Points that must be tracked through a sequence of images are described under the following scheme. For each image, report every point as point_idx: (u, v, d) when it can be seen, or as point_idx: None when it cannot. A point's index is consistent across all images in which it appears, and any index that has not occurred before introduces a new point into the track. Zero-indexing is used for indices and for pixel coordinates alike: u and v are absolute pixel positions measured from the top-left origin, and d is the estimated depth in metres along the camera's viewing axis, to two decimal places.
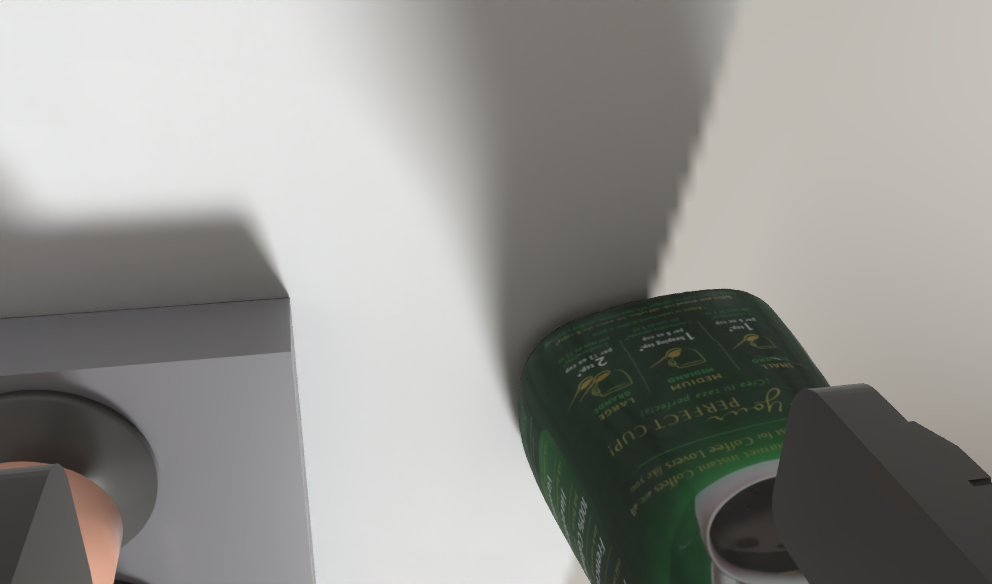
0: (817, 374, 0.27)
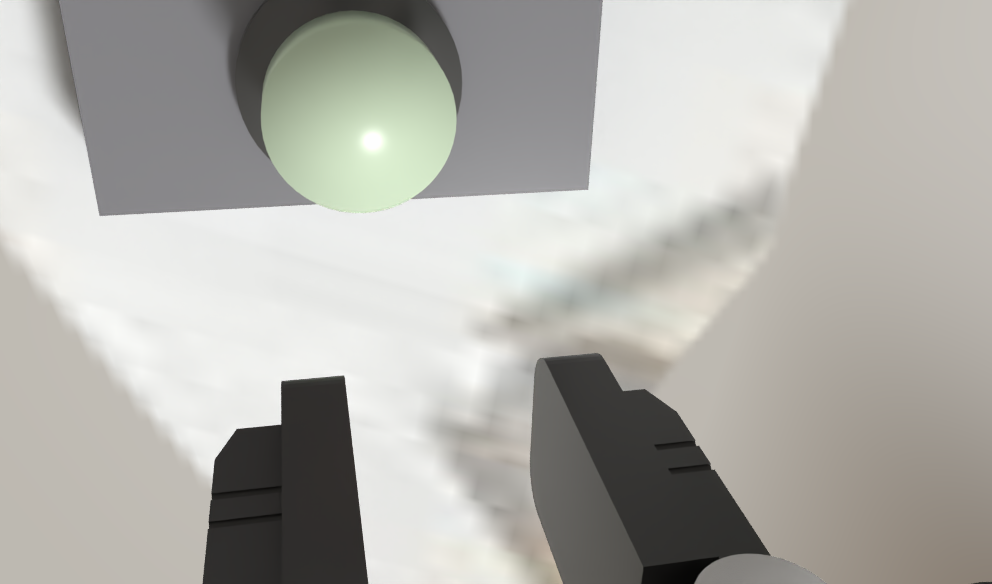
0: None
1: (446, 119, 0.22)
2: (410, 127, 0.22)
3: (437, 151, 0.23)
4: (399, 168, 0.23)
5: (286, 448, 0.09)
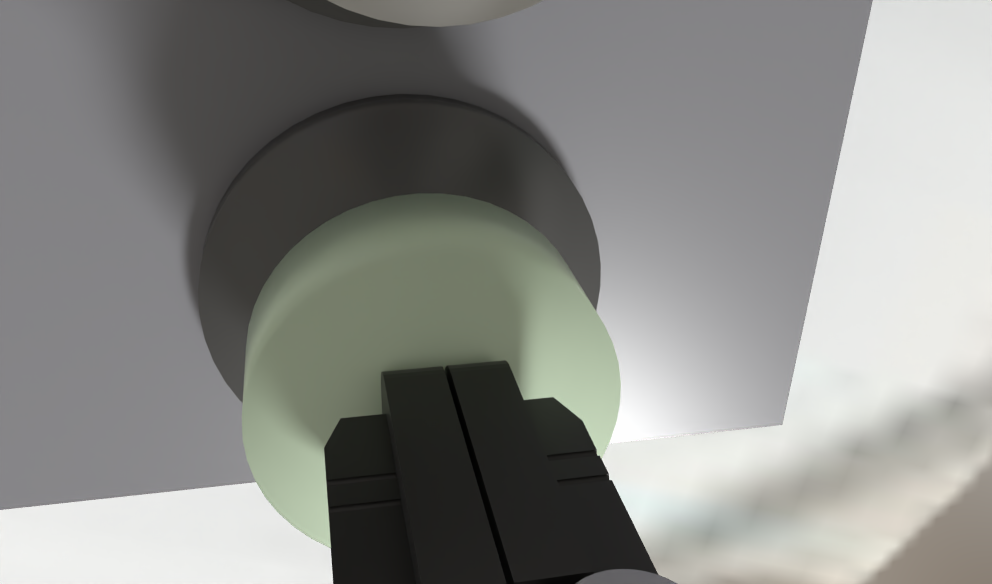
0: None
1: (601, 402, 0.12)
2: None
3: None
4: None
5: (398, 435, 0.09)
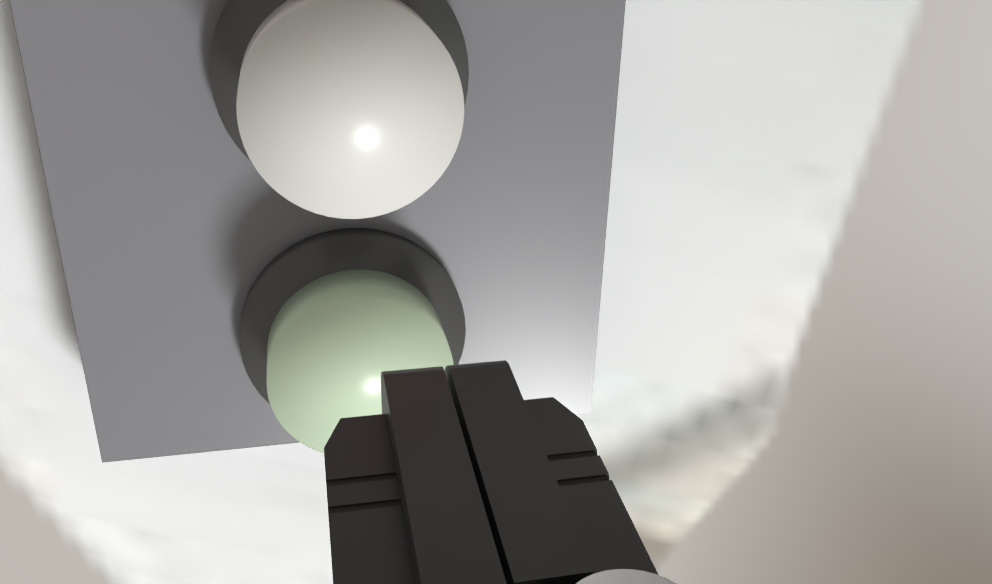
0: None
1: None
2: None
3: None
4: None
5: (398, 436, 0.09)
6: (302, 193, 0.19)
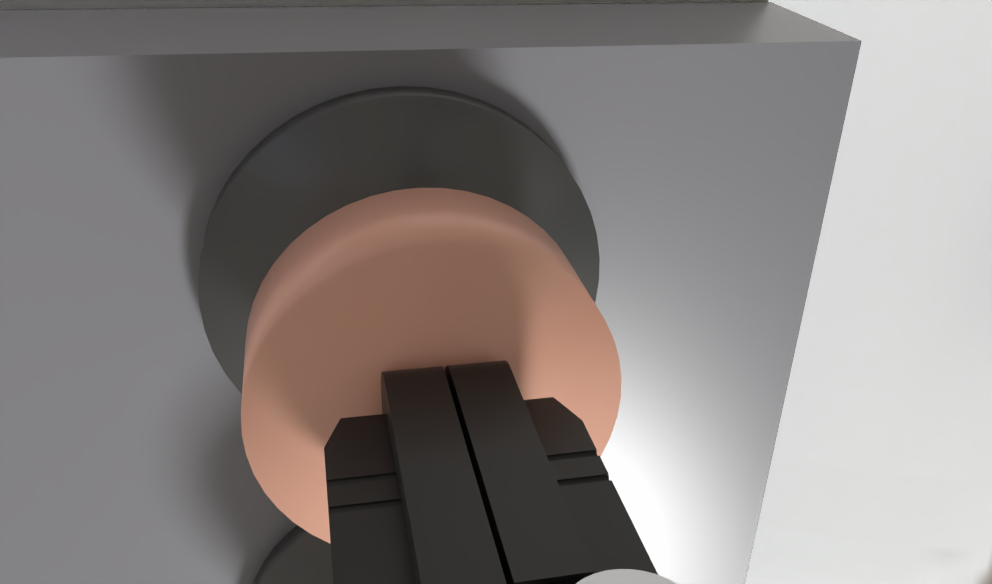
0: None
1: None
2: None
3: None
4: None
5: (399, 436, 0.09)
6: None
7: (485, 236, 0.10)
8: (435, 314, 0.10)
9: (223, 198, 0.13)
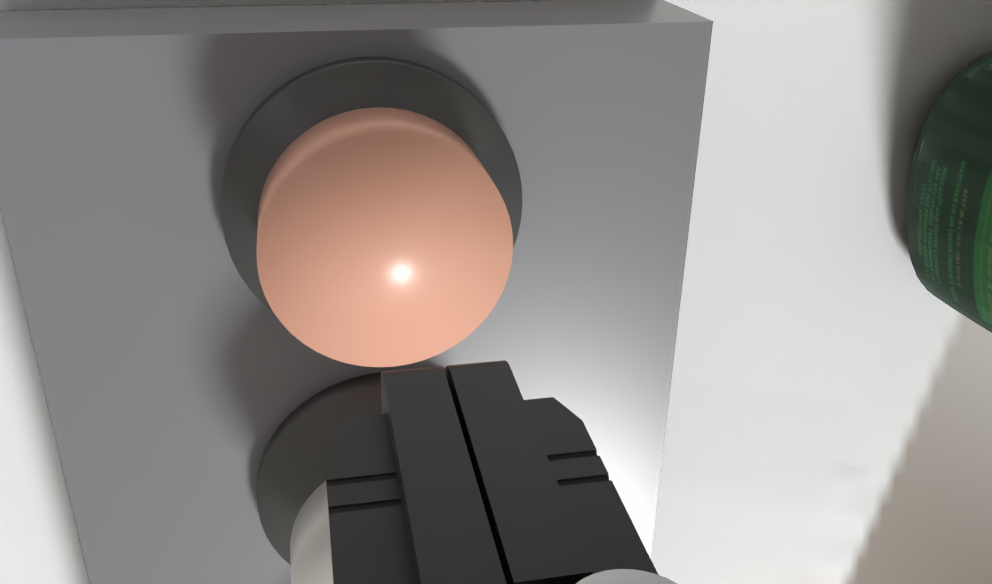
0: None
1: None
2: None
3: None
4: None
5: (399, 436, 0.09)
6: None
7: (415, 130, 0.16)
8: (383, 183, 0.16)
9: (239, 139, 0.17)
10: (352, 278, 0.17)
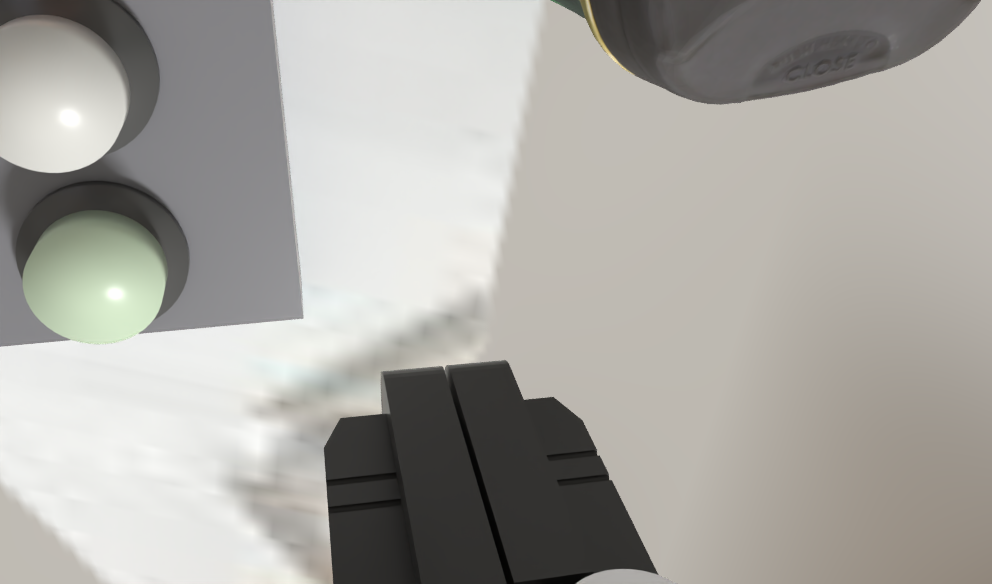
0: None
1: (155, 282, 0.33)
2: (130, 288, 0.33)
3: (152, 302, 0.33)
4: (126, 314, 0.33)
5: (398, 436, 0.09)
6: (16, 155, 0.29)
7: None
8: None
9: None
10: None
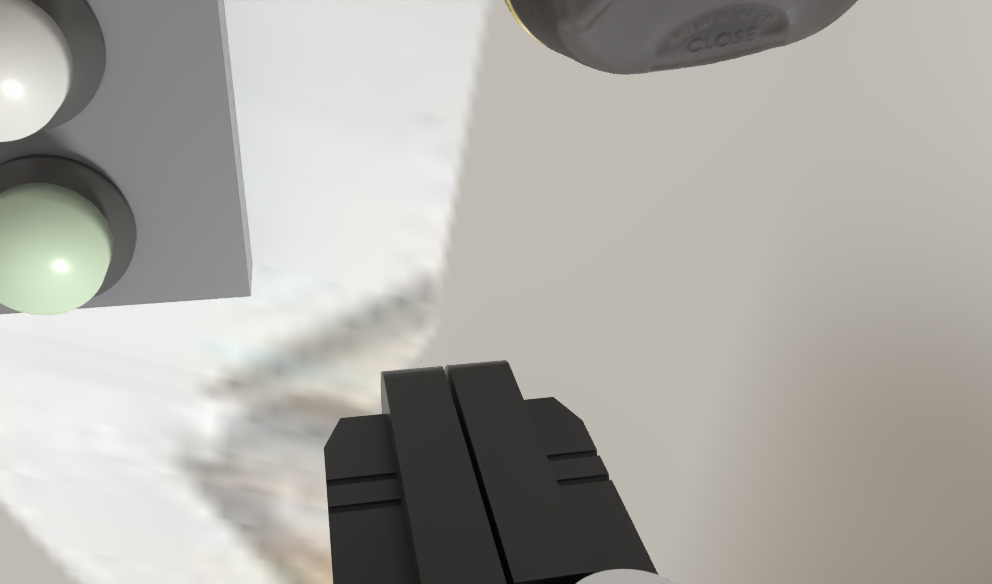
0: None
1: (98, 254, 0.33)
2: (73, 260, 0.33)
3: (95, 274, 0.34)
4: (70, 286, 0.34)
5: (399, 436, 0.09)
6: None
7: None
8: None
9: None
10: None
